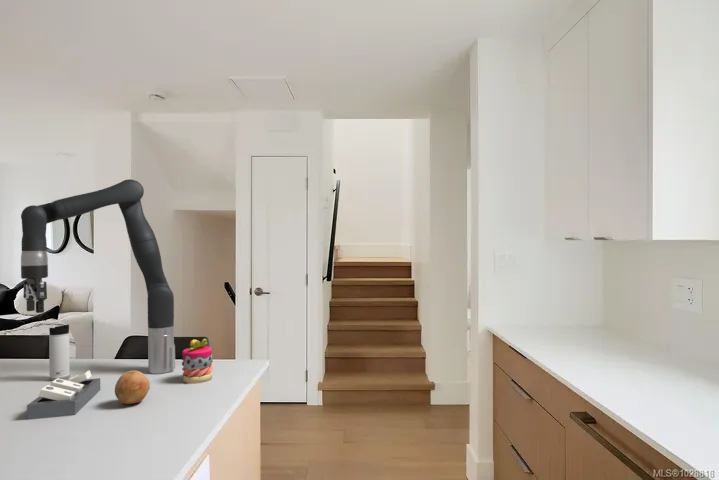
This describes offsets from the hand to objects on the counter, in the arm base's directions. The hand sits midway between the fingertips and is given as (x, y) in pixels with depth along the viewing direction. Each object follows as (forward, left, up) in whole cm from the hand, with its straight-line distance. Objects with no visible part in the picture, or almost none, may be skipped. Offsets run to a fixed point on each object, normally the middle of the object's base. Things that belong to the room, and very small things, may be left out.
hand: (35, 311), depth 157 cm
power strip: (-16, +14, -27) cm, 34 cm away
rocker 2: (-16, +11, -22) cm, 29 cm away
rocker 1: (-16, +26, -22) cm, 37 cm away
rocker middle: (-16, +18, -22) cm, 32 cm away
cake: (-53, +3, -27) cm, 59 cm away
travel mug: (-3, -14, -27) cm, 30 cm away
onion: (-36, +24, -27) cm, 51 cm away
